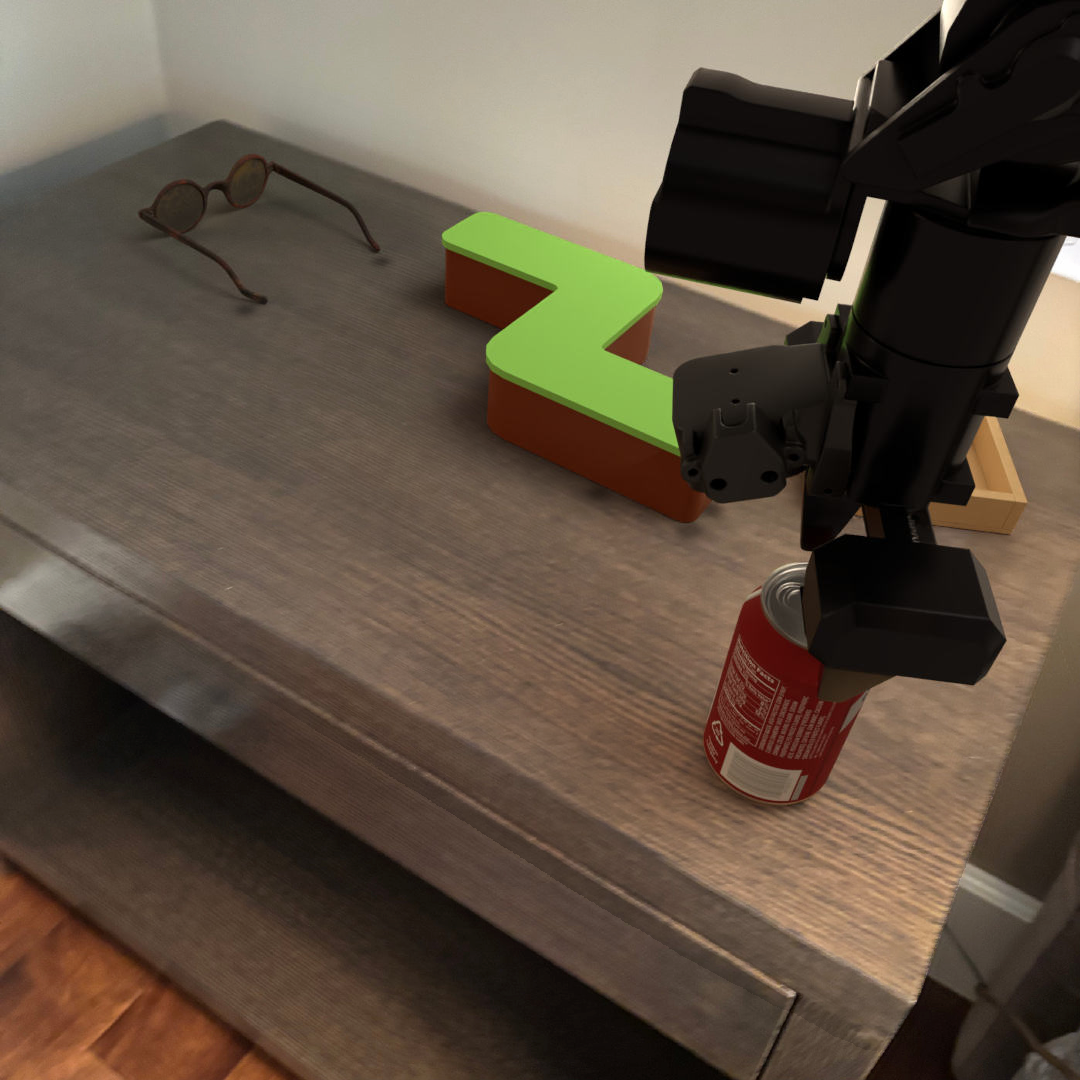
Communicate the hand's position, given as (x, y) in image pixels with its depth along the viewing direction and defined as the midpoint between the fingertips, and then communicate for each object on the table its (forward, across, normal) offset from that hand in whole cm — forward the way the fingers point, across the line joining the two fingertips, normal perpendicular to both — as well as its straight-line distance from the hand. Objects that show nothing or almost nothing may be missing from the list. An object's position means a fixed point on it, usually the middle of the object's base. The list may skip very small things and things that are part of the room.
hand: (819, 618), depth 47 cm
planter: (+11, -32, -13) cm, 36 cm away
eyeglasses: (+11, -47, -41) cm, 63 cm away
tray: (+11, -27, +11) cm, 31 cm away
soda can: (+11, 0, 0) cm, 11 cm away
